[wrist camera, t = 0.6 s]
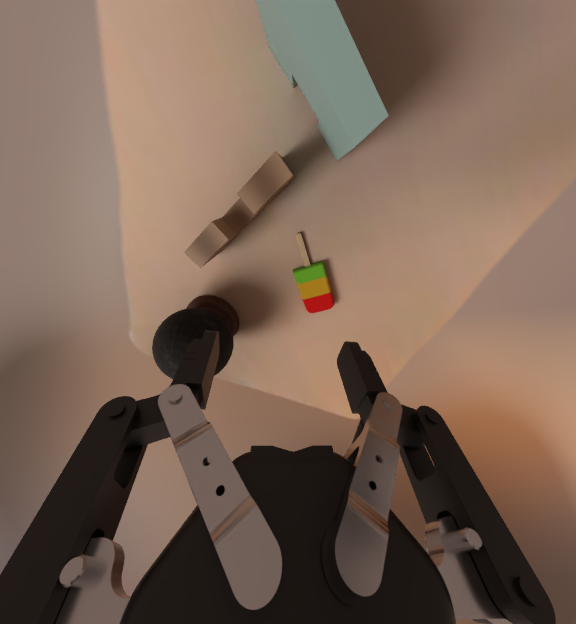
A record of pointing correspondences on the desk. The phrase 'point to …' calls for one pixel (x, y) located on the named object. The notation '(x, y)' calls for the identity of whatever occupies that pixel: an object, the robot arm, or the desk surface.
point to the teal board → (324, 68)
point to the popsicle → (313, 282)
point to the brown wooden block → (242, 209)
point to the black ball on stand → (195, 332)
